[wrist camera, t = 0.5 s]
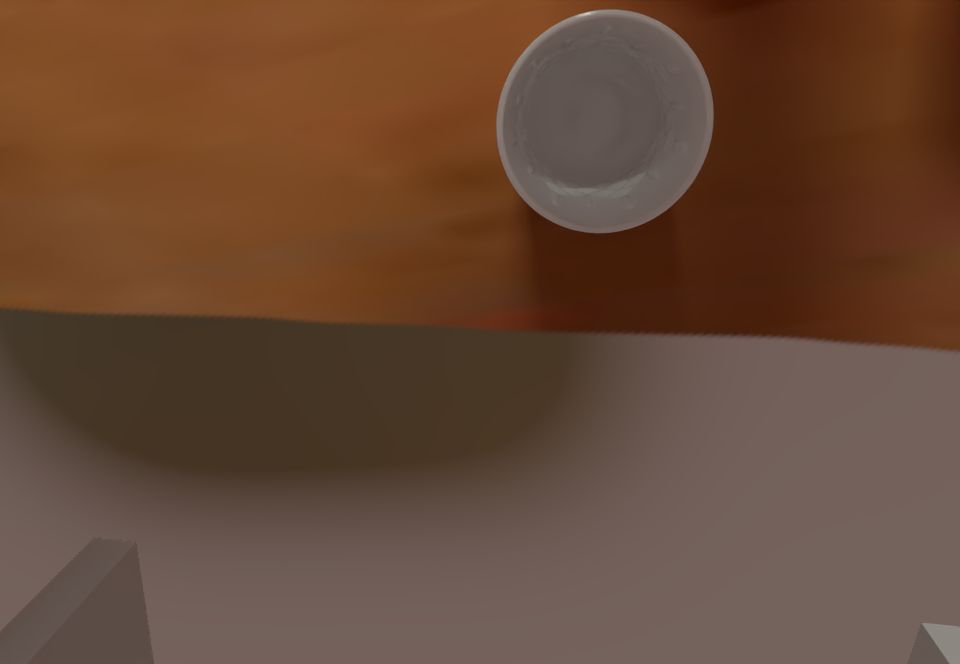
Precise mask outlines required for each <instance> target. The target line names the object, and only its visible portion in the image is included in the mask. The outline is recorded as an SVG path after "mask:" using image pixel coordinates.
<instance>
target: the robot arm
mask: <svg viewBox="0 0 960 664" xmlns="http://www.w3.org/2000/svg"><path fill="white" fill-rule="evenodd" d="M0 664H154V660H153V653H152V646H151V639H150V633H149V626H148V620H147V612H146V605H145V599H144V592H143V585H142V579H141V571H140V565H139V558H138V552H137V544H136V542H132V541H122V540H112V539H102V538H93V539H92V540H91V541H90V542H89V543H88V544H87V545H86V546H85V547H84V548H83V549H82V550H81V551H80V552H79V553H78V554H77V555H76V556H75V557H74V558H73V560H71V561H70V562H69V563H68V564H67V565H66V566H65V567H64V568H63V569H62V570H61V571H60V572H59V573H58V574H57V575H56V576H55V577H54V578H53V579H52V580H51V581H50V582H49V583H48V584H47V585H46V586H45V587H44V588H43V589H42V590H41V591H40V592H39V593H38V594H37V595H36V596H35V598H33V599H32V600H31V601H30V602H29V604H27V605H26V607H24V608H23V609H22V610H21V611H20V612H19V613H18V614H17V615H16V616H15V618H13V619H12V620H11V621H10V622H9V623H8V624H7V626H6V627H4V628H3V629H2V630H1V632H0ZM908 664H960V627H958V626H948V625H938V624H928V623H921V625H920V628H919V632H918V634H917V637H916V640H915V643H914V646H913V649H912V652H911V655H910V658H909V661H908Z"/></svg>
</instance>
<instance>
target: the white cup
mask: <svg viewBox="0 0 960 664" xmlns="http://www.w3.org/2000/svg"><path fill="white" fill-rule="evenodd" d="M713 122H714V108H713V99H712V93H711V89H710V85H709V81H708V78H707V76H706V73H705V71H704V69H703V67H702V65H701V63H700V61H699V59H698V58H697V56H696V54H695V53H694V52H693V50H692V49H691V48H690V46H689V45H688V44H687V43H686V42H685V41H684V40H683V39H682V38H681V37H680V36H679V35H678V34H677V33H676V32H674V31H673V30H672V29H670V28H669V27H668V26H666V25H664V24H663V23H661V22H659V21H657V20H655V19H653V18H651V17H648V16H646V15H643V14H640V13H636V12H631V11H625V10H613V9H609V10H596V11H590V12H586V13H582V14H578V15H575V16H573V17H570V18H568V19H565V20H563V21H561V22H559V23H557V24H556V25H554V26H552V27H551V28H549V29H548V30H546V31H545V32H544V33H542V34H541V35H540V36H539V37H538V38H536V39H535V40H534V41H533V42H532V43H531V44H530V45H529V46H528V47H527V48H526V50H525V51H524V52H523V53H522V54H521V56H520V57H519V59H518V60H517V61H516V63H515V64H514V66H513V68H512V70H511V71H510V73H509V75H508V77H507V80H506V82H505V84H504V87H503V90H502V93H501V96H500V100H499V105H498V111H497V120H496V134H497V144H498V150H499V154H500V158H501V161H502V164H503V167H504V170H505V172H506V174H507V176H508V178H509V180H510V182H511V184H512V185H513V187H514V188H515V190H516V191H517V192H518V194H519V195H520V196H521V198H522V199H523V200H524V201H525V202H526V203H527V204H528V205H529V206H530V207H531V208H532V209H534V210H535V211H536V212H537V213H539V214H540V215H542V216H543V217H545V218H546V219H548V220H550V221H551V222H553V223H555V224H558V225H560V226H563V227H565V228H568V229H572V230H576V231H581V232H587V233H611V232H618V231H623V230H627V229H630V228H633V227H636V226H639V225H641V224H644V223H646V222H648V221H650V220H652V219H654V218H655V217H657V216H659V215H660V214H662V213H663V212H664V211H666V210H667V209H668V208H670V207H671V206H672V205H673V204H674V203H675V202H676V201H677V200H678V199H679V198H680V197H681V196H682V195H683V194H684V193H685V192H686V191H687V189H688V188H689V187H690V186H691V184H692V183H693V181H694V180H695V178H696V176H697V175H698V173H699V171H700V169H701V167H702V165H703V163H704V161H705V158H706V156H707V153H708V150H709V146H710V142H711V138H712V132H713Z"/></svg>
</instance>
